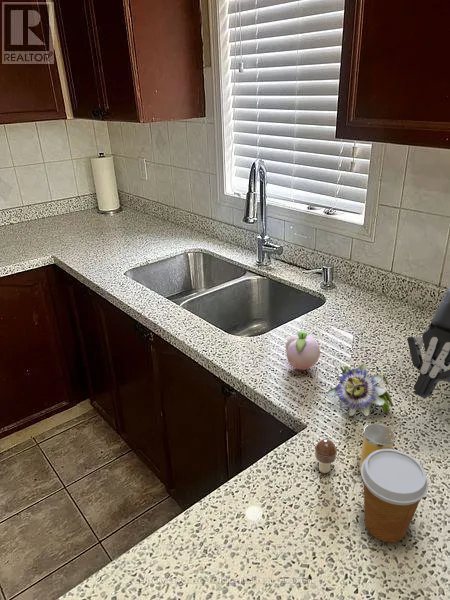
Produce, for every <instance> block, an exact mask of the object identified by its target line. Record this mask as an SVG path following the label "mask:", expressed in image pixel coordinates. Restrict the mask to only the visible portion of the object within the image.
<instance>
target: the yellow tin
mask: <svg viewBox="0 0 450 600" xmlns="http://www.w3.org/2000/svg"><path fill="white" fill-rule="evenodd" d="M395 440H396V434H395V431H394V430H392V428H390V427H389V426H387V425H385V424H382V423H369V424H367V425H366V426H365V427H364V429H363V438H362V444H361V453H360V460H359V469H358V471H359V474H361V466H362V463H363V462H364V460H365V459H366V458H367V457H368V456H369V455H370V454H371V453H372V452H374V451H376V450H381V449H393V448H394V444H395ZM393 450H394V449H393Z"/></svg>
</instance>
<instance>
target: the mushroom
mask: <svg viewBox="0 0 450 600" xmlns="http://www.w3.org/2000/svg"><path fill="white" fill-rule="evenodd" d="M337 454H338V449H337V447H336V446H335V443H334V442H333V441H332V440H330V439H328V438H322V439H321V440H319V441H318V442H317V444H316V445H315V447H314V457H315V459H316V460H317V461H318V471H320V472H321V473H323V474H327V473H329V472H330V471H331V464H333V463H334V462H335V461H336V459H337Z"/></svg>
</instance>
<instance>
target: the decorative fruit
mask: <svg viewBox="0 0 450 600" xmlns="http://www.w3.org/2000/svg"><path fill="white" fill-rule="evenodd" d="M285 352H286V359H287V361H288V363H289V365H291V367H293V368H294V369H297V370H308V369H310V368H312V367H313V366H314V365H316V363H317V362H318V361H319V359H320V356H321V348H320V345H319V343H318V341H317V340H316V339H315V338H314V337H312V336H311V335H308V333H307V332H305V331H298V332H297V333H296V334H294V335H292V336H290V337H289V338H288V339H287V341H286V343H285Z"/></svg>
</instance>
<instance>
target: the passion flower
mask: <svg viewBox="0 0 450 600" xmlns="http://www.w3.org/2000/svg"><path fill="white" fill-rule="evenodd" d="M339 369H340V370H341V373H340V374H337V376H336V378H337V379H338V380H339V383H338V384H337V385H336V386H335V387H333V388H331V389H329V390H328V391H327V395H329V396H330V397H337V398H338V399H339V400H340V403H339V407H340V409H348V411H347V412H348V416H349V417H352V416H355V414H356V413H357V411H358V410H360V411H361V414H363V415H364V416H365V417H368V416H369V415H370V414H371V408H372V405H376V406H380V407H381V410H382V411H383V413H384V414H388V413H389V412H390V407H391V408H392V407H394V403H393V401H392V398H391V395H390V394H389V392H388V391H387V390H386V389H385V388H384V387H382V386H381V385H379V383H380V382H381V381H382V380H384V381H385V385H390V384H389V383H390V382H389V380H388V378H387V377H386V375H385V374H373V375H370V374H369V373H368V366H367V364H366V363H365V362H363V363H360V364H359V366H358V367H355V368H351V367H350V366H348V365H345V366H344V368H343V367H342V366H340V367H339Z"/></svg>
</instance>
